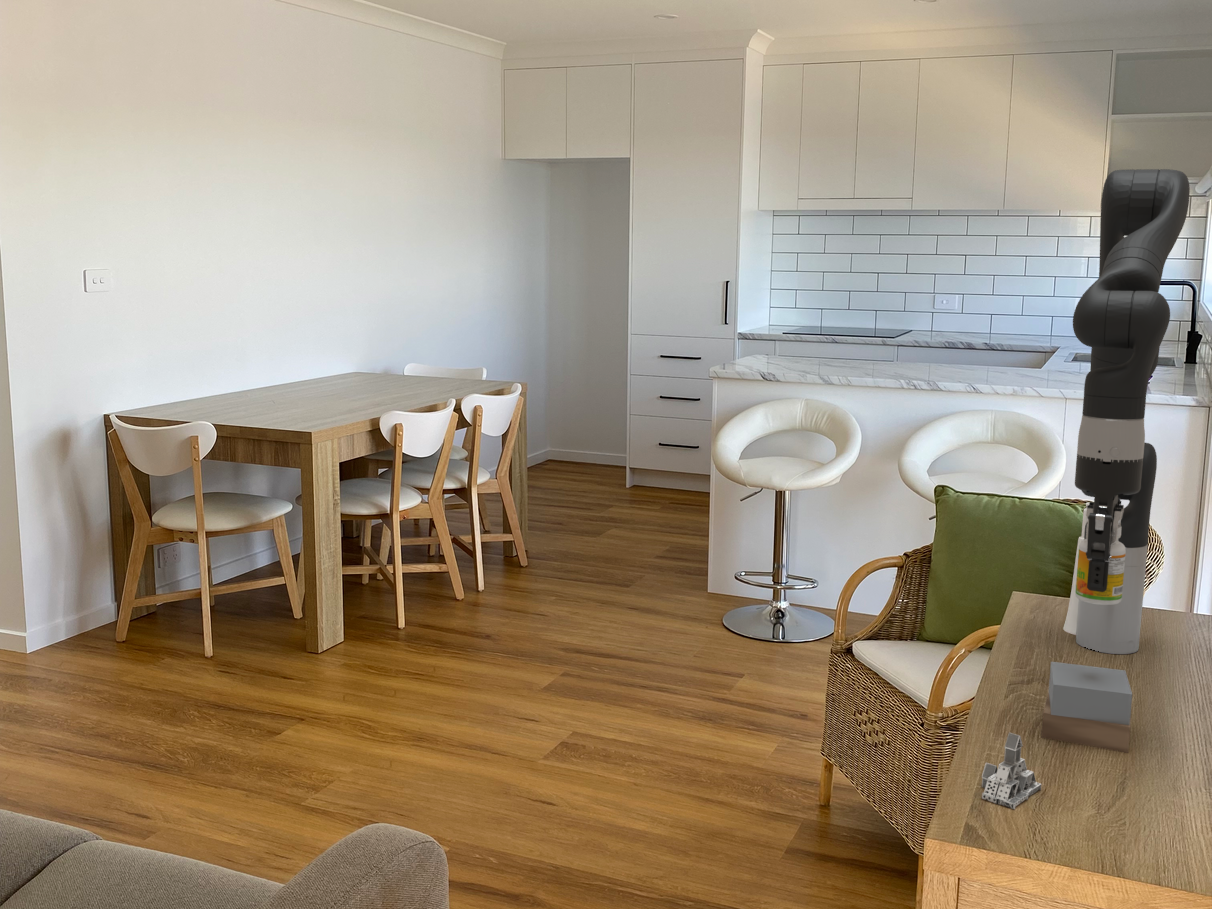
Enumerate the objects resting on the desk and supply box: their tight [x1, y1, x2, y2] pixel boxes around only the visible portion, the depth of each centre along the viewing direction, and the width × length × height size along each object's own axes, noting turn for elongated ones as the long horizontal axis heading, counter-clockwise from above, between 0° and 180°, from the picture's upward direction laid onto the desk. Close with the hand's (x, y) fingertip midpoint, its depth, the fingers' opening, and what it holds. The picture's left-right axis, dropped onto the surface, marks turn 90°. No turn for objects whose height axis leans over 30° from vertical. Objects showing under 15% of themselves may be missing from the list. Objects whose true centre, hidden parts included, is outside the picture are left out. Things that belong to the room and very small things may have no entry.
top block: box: [1048, 661, 1133, 725], centre depth 140 cm, size 9×9×4 cm
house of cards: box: [981, 731, 1042, 810], centre depth 125 cm, size 9×9×8 cm
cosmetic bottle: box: [1062, 501, 1091, 636], centre depth 182 cm, size 6×6×22 cm
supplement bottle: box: [1075, 525, 1126, 605], centre depth 138 cm, size 5×5×10 cm
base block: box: [1040, 690, 1132, 754], centre depth 141 cm, size 10×10×4 cm
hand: (1099, 584), depth 139 cm, fingers closed on supplement bottle, 5 cm apart
